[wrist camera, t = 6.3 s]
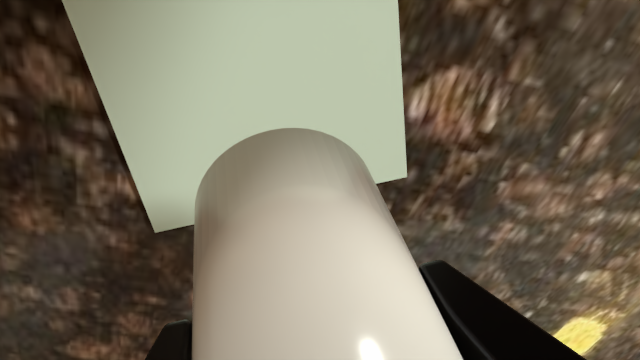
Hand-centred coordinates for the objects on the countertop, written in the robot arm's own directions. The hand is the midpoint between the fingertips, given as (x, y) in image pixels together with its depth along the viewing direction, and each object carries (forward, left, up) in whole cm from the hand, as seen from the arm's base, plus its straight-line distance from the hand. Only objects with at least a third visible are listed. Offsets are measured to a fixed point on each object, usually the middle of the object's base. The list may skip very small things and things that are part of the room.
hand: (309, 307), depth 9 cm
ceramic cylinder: (0, 0, -3) cm, 3 cm away
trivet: (0, 0, -11) cm, 11 cm away
